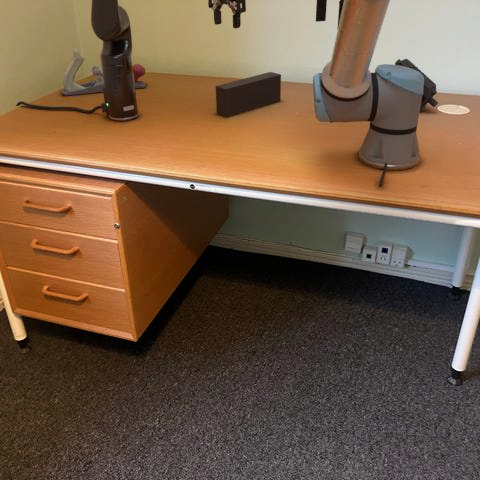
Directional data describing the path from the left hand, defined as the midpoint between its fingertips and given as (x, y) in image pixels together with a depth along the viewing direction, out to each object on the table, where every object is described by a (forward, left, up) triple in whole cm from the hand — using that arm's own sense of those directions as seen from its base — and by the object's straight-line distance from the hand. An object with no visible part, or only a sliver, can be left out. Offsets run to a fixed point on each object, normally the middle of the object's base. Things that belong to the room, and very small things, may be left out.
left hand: (227, 26), depth 158 cm
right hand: (+32, 0, +2) cm, 32 cm away
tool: (+50, +29, -27) cm, 63 cm away
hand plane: (-55, +5, -27) cm, 62 cm away
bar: (+3, +8, -27) cm, 28 cm away
